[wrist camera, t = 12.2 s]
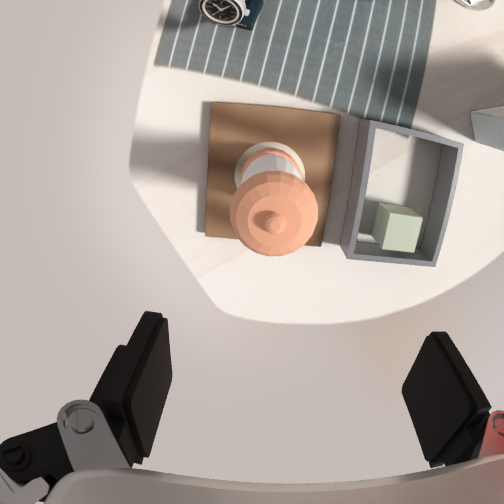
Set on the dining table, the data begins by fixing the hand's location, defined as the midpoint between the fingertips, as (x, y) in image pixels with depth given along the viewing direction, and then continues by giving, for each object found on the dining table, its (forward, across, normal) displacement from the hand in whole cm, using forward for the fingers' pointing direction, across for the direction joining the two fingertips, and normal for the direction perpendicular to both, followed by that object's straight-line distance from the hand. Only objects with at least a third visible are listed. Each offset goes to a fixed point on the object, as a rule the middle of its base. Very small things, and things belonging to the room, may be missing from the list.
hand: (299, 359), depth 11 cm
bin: (+34, -17, 0) cm, 38 cm away
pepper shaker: (+33, +1, 0) cm, 33 cm away
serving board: (+34, +1, 0) cm, 34 cm away
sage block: (+34, -17, +5) cm, 39 cm away
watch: (+34, +7, -22) cm, 41 cm away
